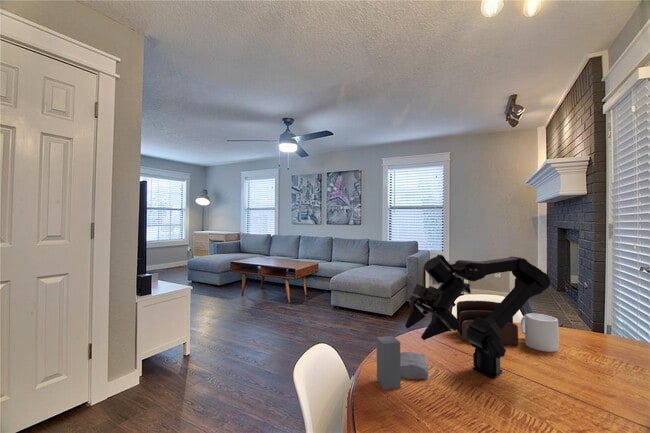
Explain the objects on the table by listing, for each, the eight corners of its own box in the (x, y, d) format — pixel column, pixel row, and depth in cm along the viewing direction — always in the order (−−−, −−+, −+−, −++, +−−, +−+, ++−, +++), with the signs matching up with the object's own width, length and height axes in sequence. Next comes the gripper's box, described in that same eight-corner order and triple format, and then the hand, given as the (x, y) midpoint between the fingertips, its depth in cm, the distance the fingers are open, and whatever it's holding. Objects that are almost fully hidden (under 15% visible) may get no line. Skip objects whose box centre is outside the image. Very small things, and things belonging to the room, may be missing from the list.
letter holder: (456, 332, 123) (456, 298, 124) (508, 336, 119) (507, 301, 119) (462, 341, 114) (461, 305, 114) (518, 346, 109) (518, 308, 110)
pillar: (392, 378, 86) (392, 335, 86) (400, 387, 81) (400, 342, 81) (376, 380, 85) (376, 337, 85) (383, 389, 80) (383, 343, 80)
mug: (511, 338, 116) (510, 311, 116) (532, 336, 118) (531, 310, 119) (543, 353, 103) (542, 322, 103) (566, 350, 105) (565, 320, 105)
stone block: (397, 384, 86) (431, 380, 84) (393, 367, 87) (428, 363, 85) (395, 366, 98) (425, 363, 96) (392, 352, 98) (422, 348, 97)
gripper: (414, 270, 96) (382, 305, 93) (449, 280, 78) (412, 325, 75) (435, 293, 97) (405, 328, 95) (475, 309, 79) (439, 353, 76)
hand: (413, 332), depth 85 cm, fingers open, 9 cm apart
